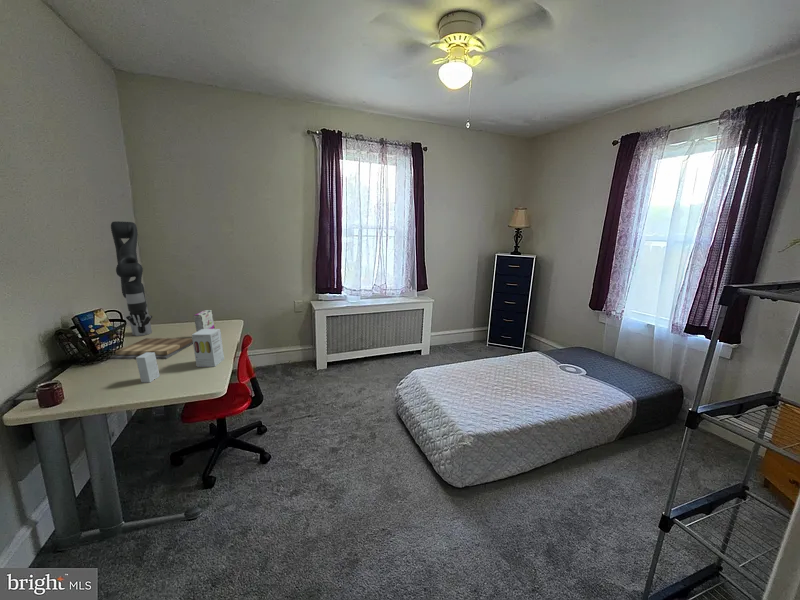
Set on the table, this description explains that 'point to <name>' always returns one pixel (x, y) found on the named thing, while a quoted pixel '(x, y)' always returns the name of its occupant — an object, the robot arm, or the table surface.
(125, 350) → the oak plank
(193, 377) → the table surface
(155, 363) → the skincare box
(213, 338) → the supplement box
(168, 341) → the floor section
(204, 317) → the candy bar box
